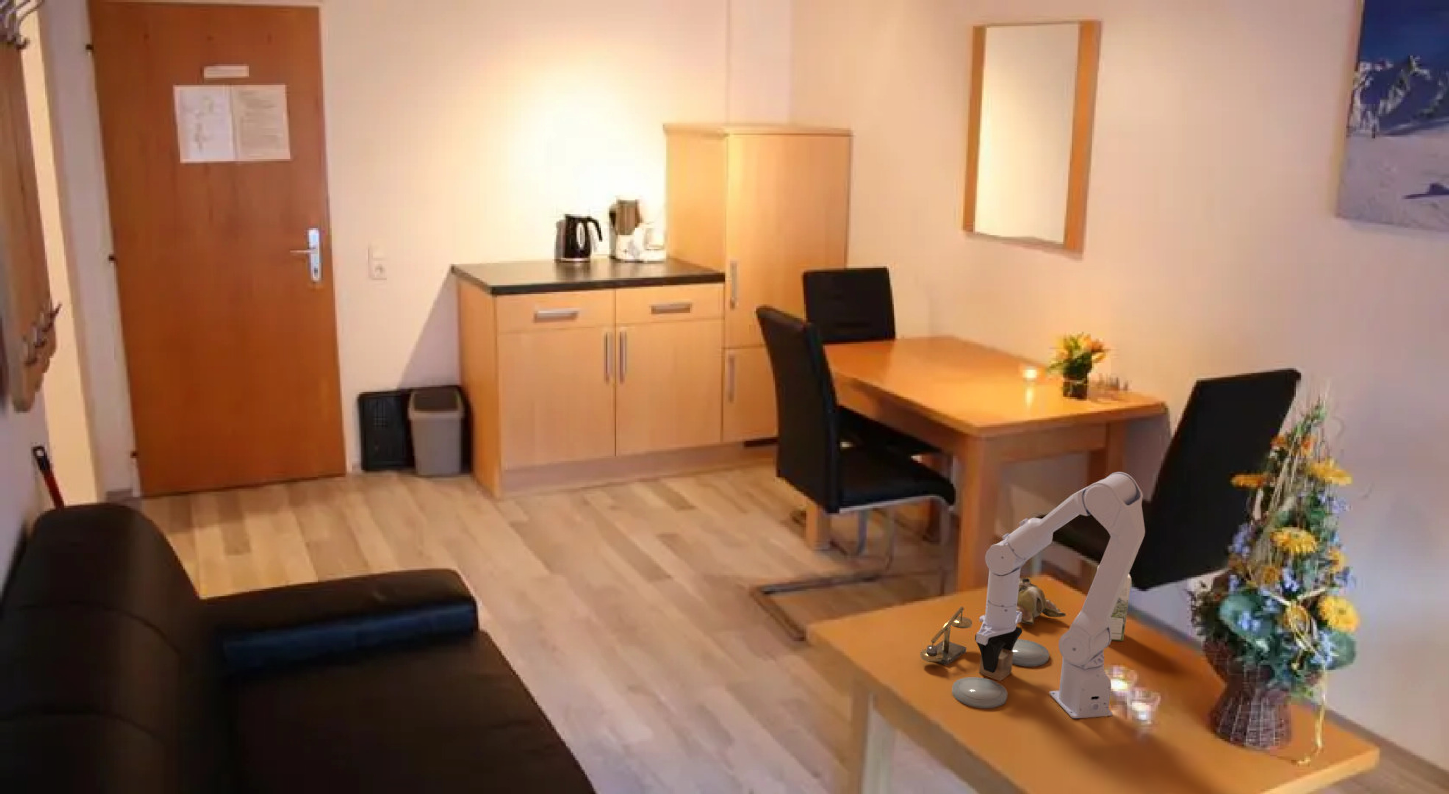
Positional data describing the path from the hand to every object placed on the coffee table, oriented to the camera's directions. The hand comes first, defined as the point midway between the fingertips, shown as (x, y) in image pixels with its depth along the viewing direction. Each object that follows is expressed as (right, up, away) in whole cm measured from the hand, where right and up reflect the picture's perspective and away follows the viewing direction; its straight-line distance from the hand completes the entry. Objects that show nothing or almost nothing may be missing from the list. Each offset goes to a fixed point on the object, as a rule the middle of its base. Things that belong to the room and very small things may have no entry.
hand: (995, 666), depth 230 cm
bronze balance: (-8, +1, +7) cm, 11 cm away
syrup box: (+27, +2, +18) cm, 33 cm away
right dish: (+7, 0, +8) cm, 11 cm away
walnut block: (0, -1, 0) cm, 2 cm away
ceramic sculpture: (+12, +5, +27) cm, 30 cm away
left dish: (-5, -3, -8) cm, 10 cm away
